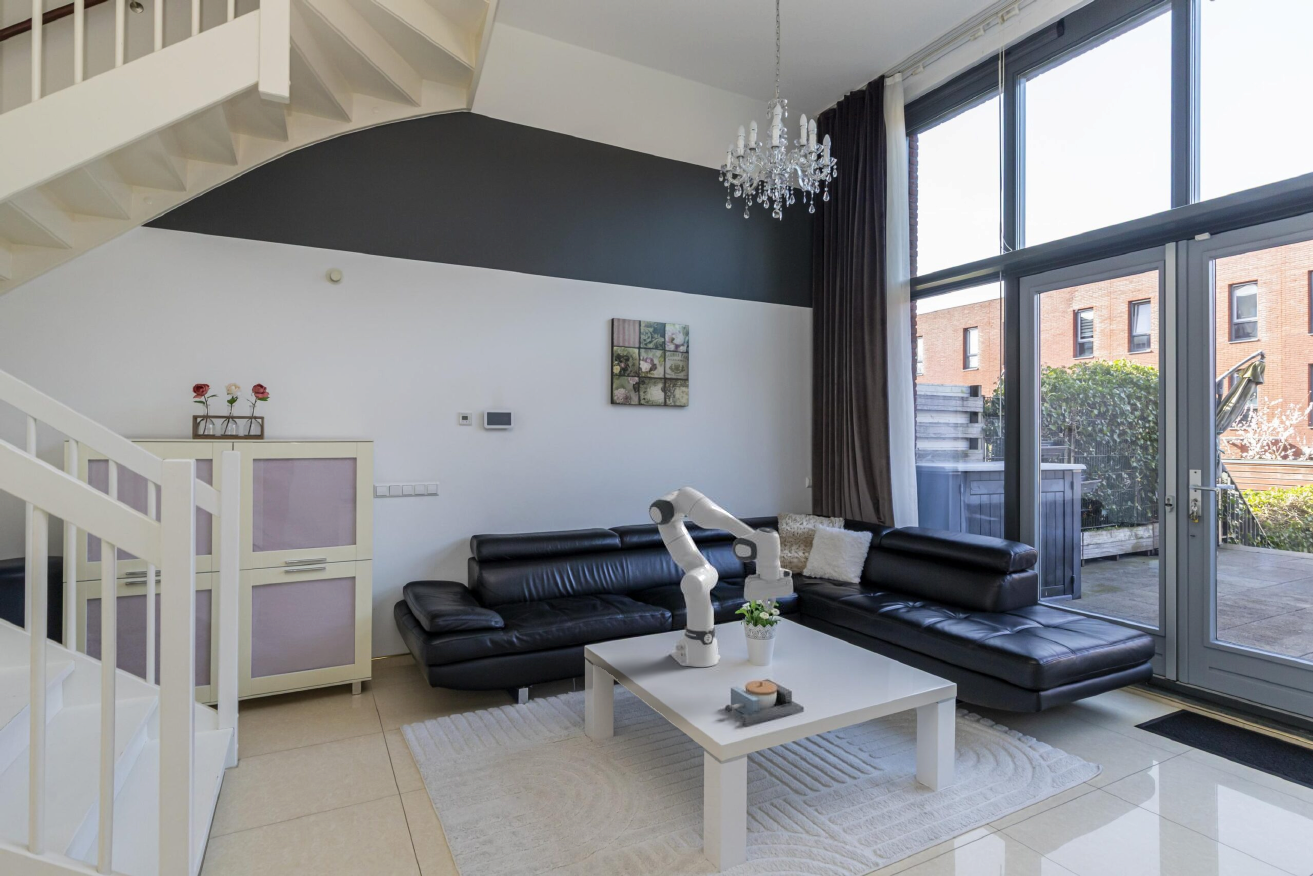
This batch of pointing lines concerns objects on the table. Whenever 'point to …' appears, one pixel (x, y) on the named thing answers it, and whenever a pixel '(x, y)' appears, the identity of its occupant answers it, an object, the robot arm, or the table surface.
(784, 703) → the vise body
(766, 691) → the lidded jar
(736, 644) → the table surface
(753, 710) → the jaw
